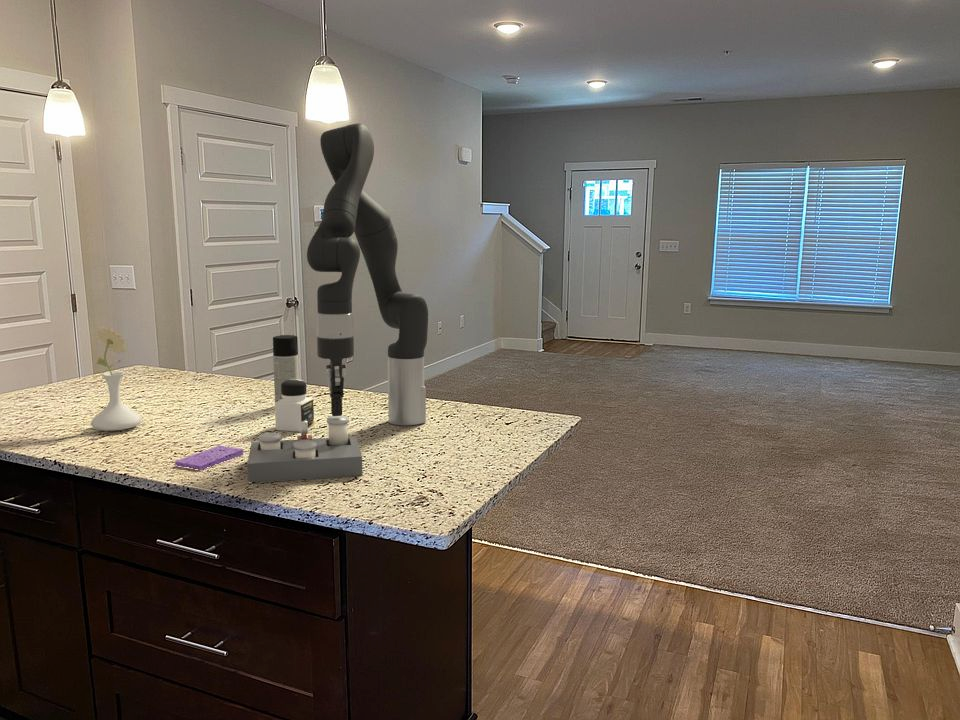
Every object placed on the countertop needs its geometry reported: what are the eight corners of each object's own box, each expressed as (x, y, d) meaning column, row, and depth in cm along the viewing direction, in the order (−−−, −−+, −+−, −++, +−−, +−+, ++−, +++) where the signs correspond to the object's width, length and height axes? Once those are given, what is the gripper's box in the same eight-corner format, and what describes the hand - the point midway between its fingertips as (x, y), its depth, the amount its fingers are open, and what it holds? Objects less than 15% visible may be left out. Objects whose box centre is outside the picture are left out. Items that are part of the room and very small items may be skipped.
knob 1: (282, 458, 155) (281, 432, 154) (282, 465, 151) (281, 438, 150) (260, 459, 154) (259, 433, 153) (259, 466, 150) (258, 439, 149)
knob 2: (348, 440, 158) (348, 415, 157) (350, 446, 154) (349, 420, 153) (327, 442, 157) (326, 416, 156) (328, 448, 152) (327, 421, 151)
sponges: (243, 456, 159) (243, 448, 159) (200, 473, 148) (199, 465, 147) (219, 452, 162) (219, 444, 162) (174, 469, 151) (174, 460, 150)
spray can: (304, 405, 204) (302, 335, 200) (290, 411, 198) (288, 338, 194) (284, 403, 206) (281, 334, 202) (270, 409, 200) (267, 337, 196)
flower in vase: (150, 428, 179) (143, 328, 175) (101, 437, 171) (93, 332, 166) (129, 418, 188) (121, 323, 183) (81, 427, 180) (72, 326, 175)
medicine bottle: (302, 432, 177) (300, 384, 175) (275, 430, 178) (273, 382, 176) (314, 424, 184) (313, 378, 182) (288, 423, 185) (286, 377, 183)
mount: (356, 453, 161) (355, 436, 160) (362, 475, 146) (362, 456, 146) (252, 460, 155) (251, 442, 154) (248, 483, 141) (247, 463, 140)
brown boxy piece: (311, 441, 155) (311, 419, 154) (312, 445, 152) (311, 422, 151) (297, 442, 154) (296, 420, 154) (297, 446, 152) (296, 423, 151)
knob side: (317, 466, 150) (316, 439, 149) (317, 473, 146) (317, 445, 145) (294, 467, 149) (293, 440, 148) (294, 475, 145) (293, 447, 144)
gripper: (356, 338, 146) (357, 422, 149) (351, 330, 158) (352, 407, 161) (317, 339, 144) (319, 423, 147) (316, 330, 157) (317, 408, 159)
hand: (336, 415), depth 154 cm, fingers closed
